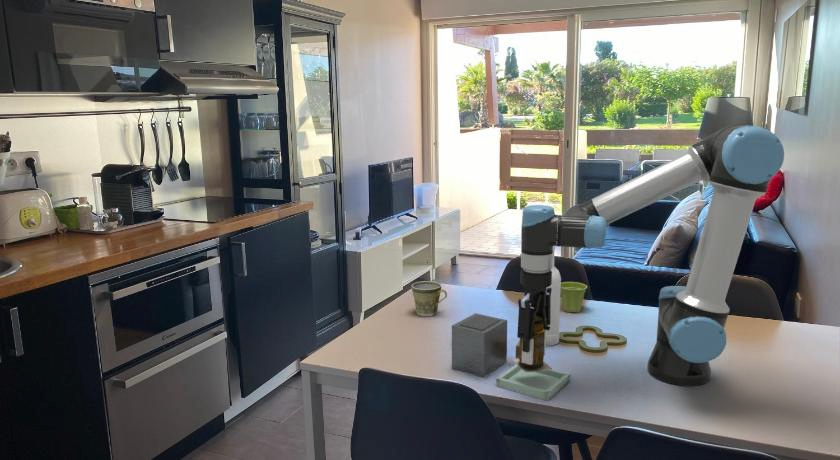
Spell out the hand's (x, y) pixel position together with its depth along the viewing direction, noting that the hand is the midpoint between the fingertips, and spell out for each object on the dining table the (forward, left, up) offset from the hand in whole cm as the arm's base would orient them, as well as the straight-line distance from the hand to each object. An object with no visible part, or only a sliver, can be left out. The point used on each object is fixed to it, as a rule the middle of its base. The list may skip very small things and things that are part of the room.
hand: (533, 358), depth 156 cm
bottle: (+10, -28, -7) cm, 31 cm away
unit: (+17, -2, -7) cm, 18 cm away
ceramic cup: (+52, -28, -7) cm, 59 cm away
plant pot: (+15, -59, -7) cm, 61 cm away
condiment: (0, +1, -2) cm, 2 cm away
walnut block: (+8, -12, -7) cm, 16 cm away
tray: (0, 0, -7) cm, 7 cm away
